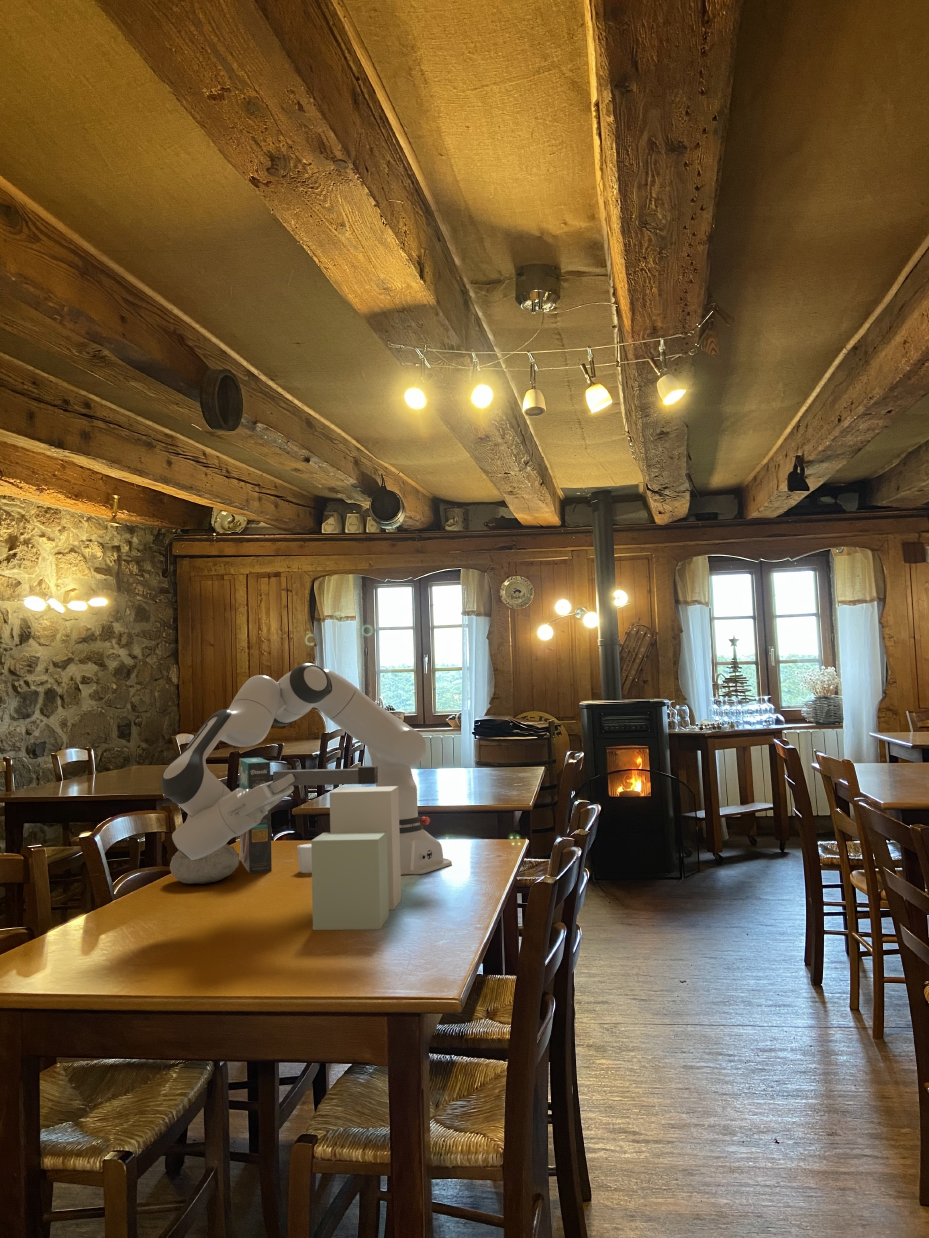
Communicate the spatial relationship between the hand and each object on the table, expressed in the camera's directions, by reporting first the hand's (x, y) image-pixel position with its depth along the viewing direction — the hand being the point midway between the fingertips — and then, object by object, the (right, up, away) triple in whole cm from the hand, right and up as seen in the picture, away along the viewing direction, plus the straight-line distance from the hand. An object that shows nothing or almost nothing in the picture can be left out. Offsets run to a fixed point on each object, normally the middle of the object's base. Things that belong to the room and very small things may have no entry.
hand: (296, 775), depth 187 cm
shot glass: (-7, -36, +54) cm, 65 cm away
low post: (+12, -30, -4) cm, 33 cm away
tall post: (+14, -32, +12) cm, 37 cm away
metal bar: (+6, -2, -1) cm, 7 cm away
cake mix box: (-24, -38, +64) cm, 78 cm away
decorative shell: (-33, -36, +45) cm, 66 cm away
